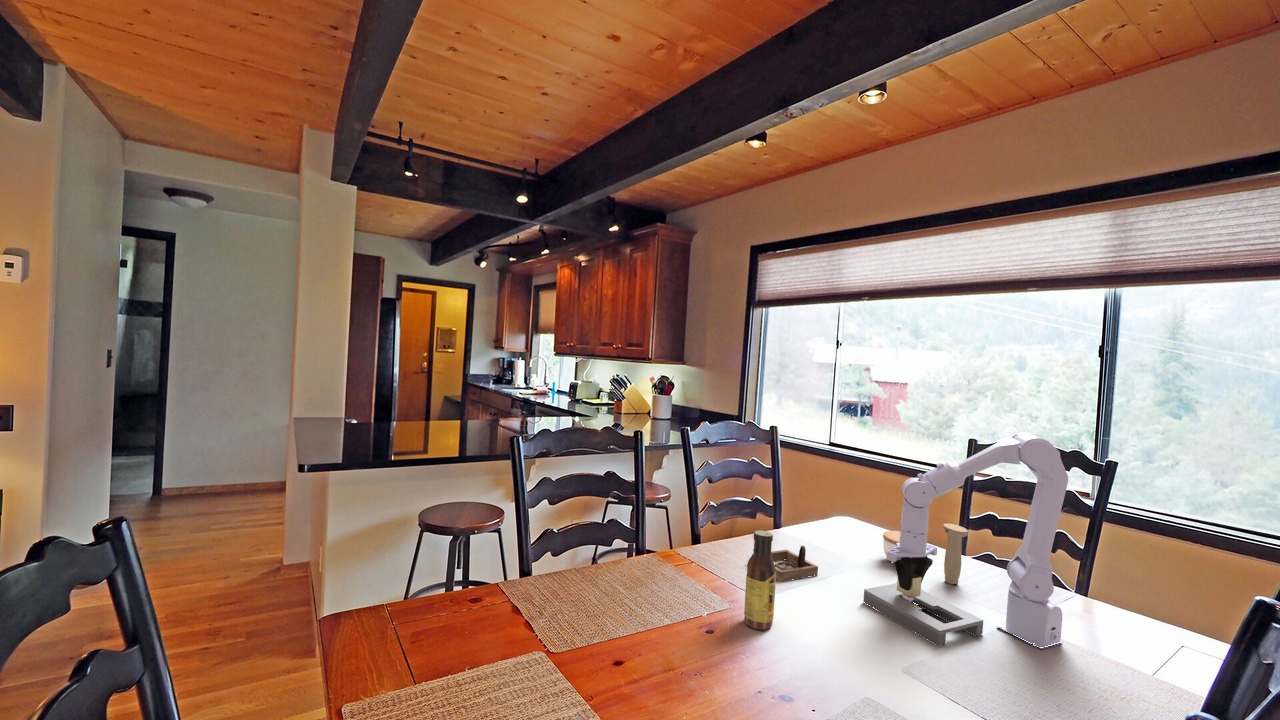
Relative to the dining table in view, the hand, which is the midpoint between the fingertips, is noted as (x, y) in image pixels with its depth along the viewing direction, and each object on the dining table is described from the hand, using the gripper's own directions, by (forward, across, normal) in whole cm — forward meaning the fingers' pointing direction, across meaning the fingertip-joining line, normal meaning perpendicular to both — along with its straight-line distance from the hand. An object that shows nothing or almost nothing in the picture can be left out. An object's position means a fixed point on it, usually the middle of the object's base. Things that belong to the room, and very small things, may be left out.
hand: (909, 587), depth 129 cm
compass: (+6, +13, -27) cm, 30 cm away
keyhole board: (+6, 0, +3) cm, 7 cm away
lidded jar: (+6, -24, -22) cm, 33 cm away
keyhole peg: (+5, 0, 0) cm, 5 cm away
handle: (+6, -26, -8) cm, 28 cm away
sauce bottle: (+6, +38, -7) cm, 39 cm away
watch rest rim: (+6, +13, -29) cm, 32 cm away
